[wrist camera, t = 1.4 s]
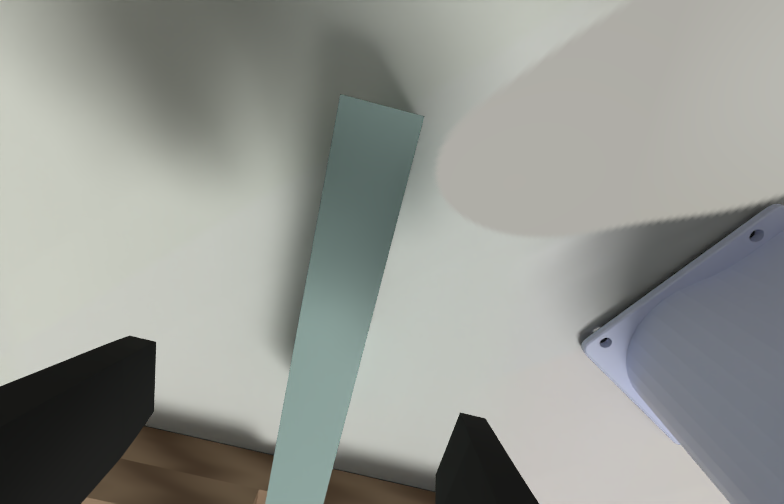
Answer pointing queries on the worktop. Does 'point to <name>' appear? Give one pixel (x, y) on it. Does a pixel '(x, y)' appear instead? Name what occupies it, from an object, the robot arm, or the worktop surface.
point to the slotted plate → (341, 290)
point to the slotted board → (221, 476)
